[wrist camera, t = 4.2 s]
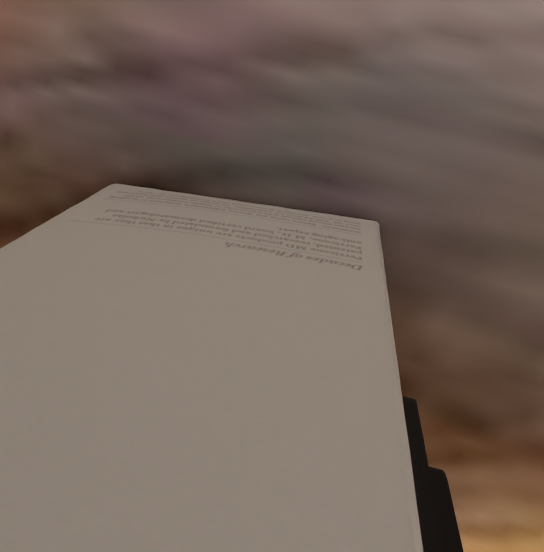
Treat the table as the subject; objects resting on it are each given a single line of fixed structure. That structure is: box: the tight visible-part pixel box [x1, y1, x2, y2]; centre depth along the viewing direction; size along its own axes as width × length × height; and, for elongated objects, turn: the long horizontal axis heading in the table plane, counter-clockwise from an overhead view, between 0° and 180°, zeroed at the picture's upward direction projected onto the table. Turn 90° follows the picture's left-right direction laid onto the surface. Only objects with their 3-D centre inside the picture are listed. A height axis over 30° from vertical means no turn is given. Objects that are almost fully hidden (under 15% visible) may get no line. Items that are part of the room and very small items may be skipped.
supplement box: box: [0, 184, 423, 552], centre depth 9 cm, size 7×7×13 cm
